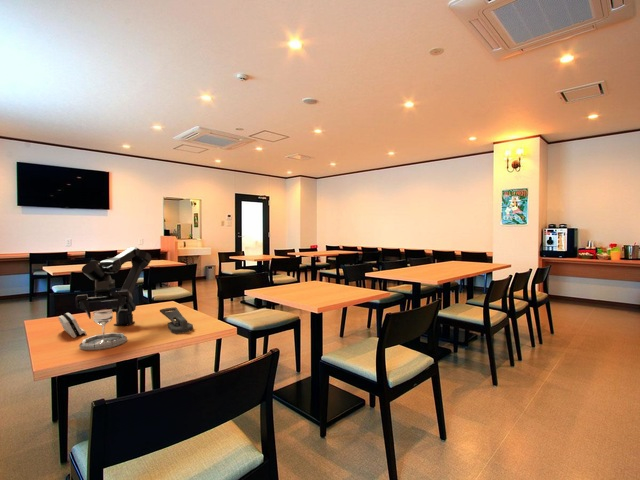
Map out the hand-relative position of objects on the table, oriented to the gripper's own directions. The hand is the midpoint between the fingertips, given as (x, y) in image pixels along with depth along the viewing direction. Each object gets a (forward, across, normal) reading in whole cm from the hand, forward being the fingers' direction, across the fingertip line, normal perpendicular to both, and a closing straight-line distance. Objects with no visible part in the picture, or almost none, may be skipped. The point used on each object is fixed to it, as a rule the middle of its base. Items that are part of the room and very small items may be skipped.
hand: (103, 316), depth 139 cm
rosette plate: (+10, 0, +5) cm, 11 cm away
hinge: (-7, -12, +22) cm, 26 cm away
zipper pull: (+3, +28, +11) cm, 30 cm away
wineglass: (+9, 0, +4) cm, 10 cm away
